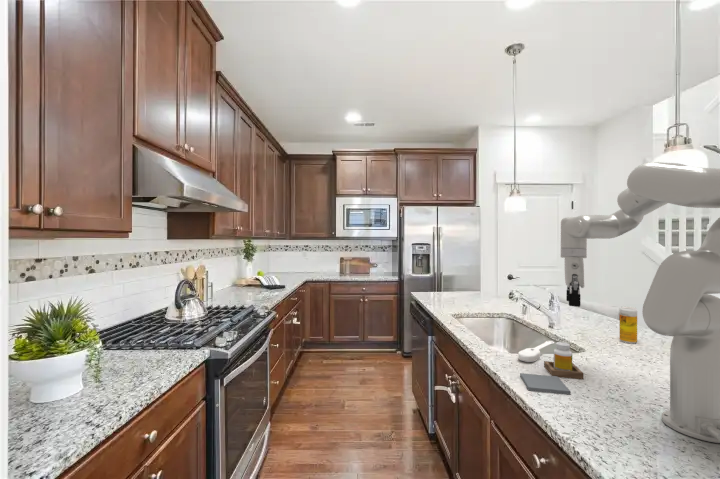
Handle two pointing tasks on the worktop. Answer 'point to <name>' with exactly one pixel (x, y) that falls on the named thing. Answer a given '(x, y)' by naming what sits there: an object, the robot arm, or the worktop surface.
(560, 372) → the collar
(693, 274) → the robot arm
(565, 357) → the supplement bottle
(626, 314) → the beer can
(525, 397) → the worktop surface
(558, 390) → the rubber mat
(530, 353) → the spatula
